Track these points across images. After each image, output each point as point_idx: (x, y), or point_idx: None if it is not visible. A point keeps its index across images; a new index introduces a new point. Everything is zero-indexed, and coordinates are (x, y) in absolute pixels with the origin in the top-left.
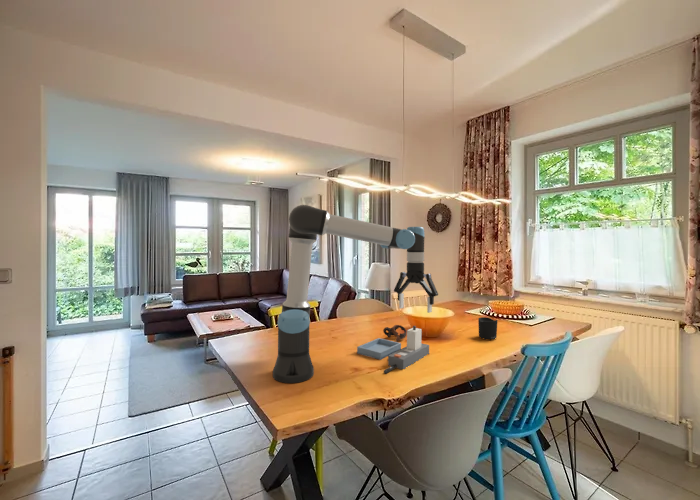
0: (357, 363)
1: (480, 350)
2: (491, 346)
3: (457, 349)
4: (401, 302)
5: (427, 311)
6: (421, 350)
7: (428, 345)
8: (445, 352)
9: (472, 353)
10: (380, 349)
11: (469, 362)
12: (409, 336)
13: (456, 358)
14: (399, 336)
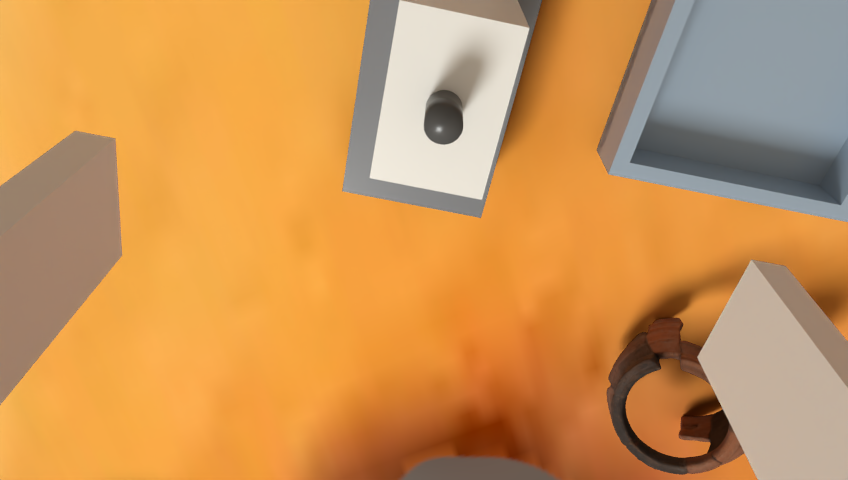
0: None
1: (74, 373)
2: (53, 460)
3: (205, 333)
4: (795, 375)
5: (103, 149)
6: (366, 27)
7: (344, 177)
8: (254, 241)
9: (90, 301)
10: (786, 18)
11: (24, 113)
12: (485, 1)
13: (137, 153)
14: (656, 348)
